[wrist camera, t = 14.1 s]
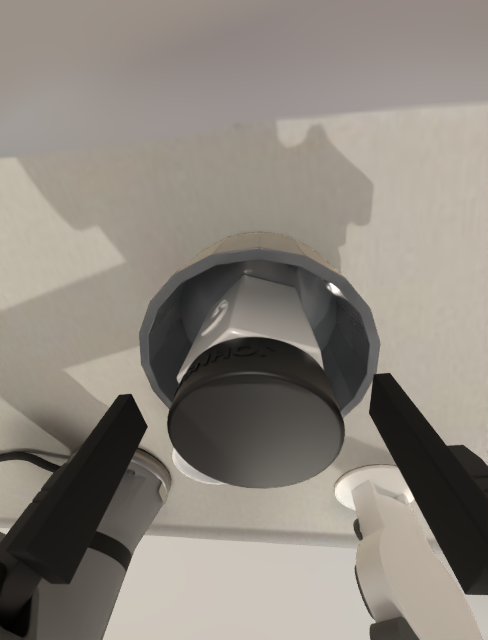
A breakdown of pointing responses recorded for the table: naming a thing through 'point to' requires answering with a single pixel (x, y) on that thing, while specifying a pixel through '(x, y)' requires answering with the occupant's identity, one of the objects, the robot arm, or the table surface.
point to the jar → (256, 392)
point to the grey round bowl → (276, 266)
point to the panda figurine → (400, 563)
